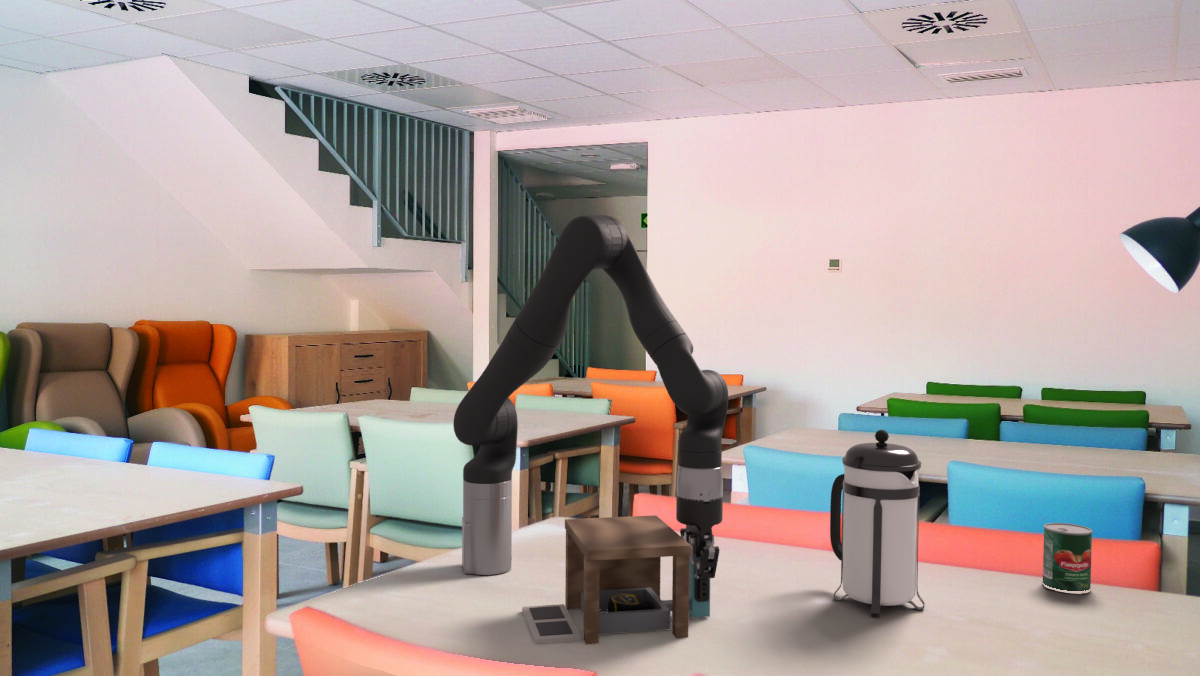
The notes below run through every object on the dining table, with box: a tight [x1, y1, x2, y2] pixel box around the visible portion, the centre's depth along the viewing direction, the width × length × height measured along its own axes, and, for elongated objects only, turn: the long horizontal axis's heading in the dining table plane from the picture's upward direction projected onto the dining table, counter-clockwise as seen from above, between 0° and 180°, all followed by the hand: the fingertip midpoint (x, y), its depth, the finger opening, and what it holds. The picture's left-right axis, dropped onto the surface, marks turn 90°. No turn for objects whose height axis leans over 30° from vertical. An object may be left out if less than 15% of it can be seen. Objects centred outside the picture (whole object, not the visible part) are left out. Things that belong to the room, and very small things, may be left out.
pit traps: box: [521, 603, 582, 645], centre depth 148 cm, size 7×15×1 cm, turn 12°
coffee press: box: [829, 429, 925, 618], centre depth 160 cm, size 17×16×30 cm
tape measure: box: [607, 594, 654, 612], centre depth 151 cm, size 7×7×4 cm
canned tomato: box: [1042, 522, 1093, 591], centre depth 170 cm, size 8×8×11 cm
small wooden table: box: [564, 515, 691, 645], centre depth 151 cm, size 16×20×14 cm
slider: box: [579, 555, 711, 635], centre depth 152 cm, size 20×12×10 cm, turn 102°
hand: (698, 597), depth 153 cm, fingers closed on slider, 3 cm apart
